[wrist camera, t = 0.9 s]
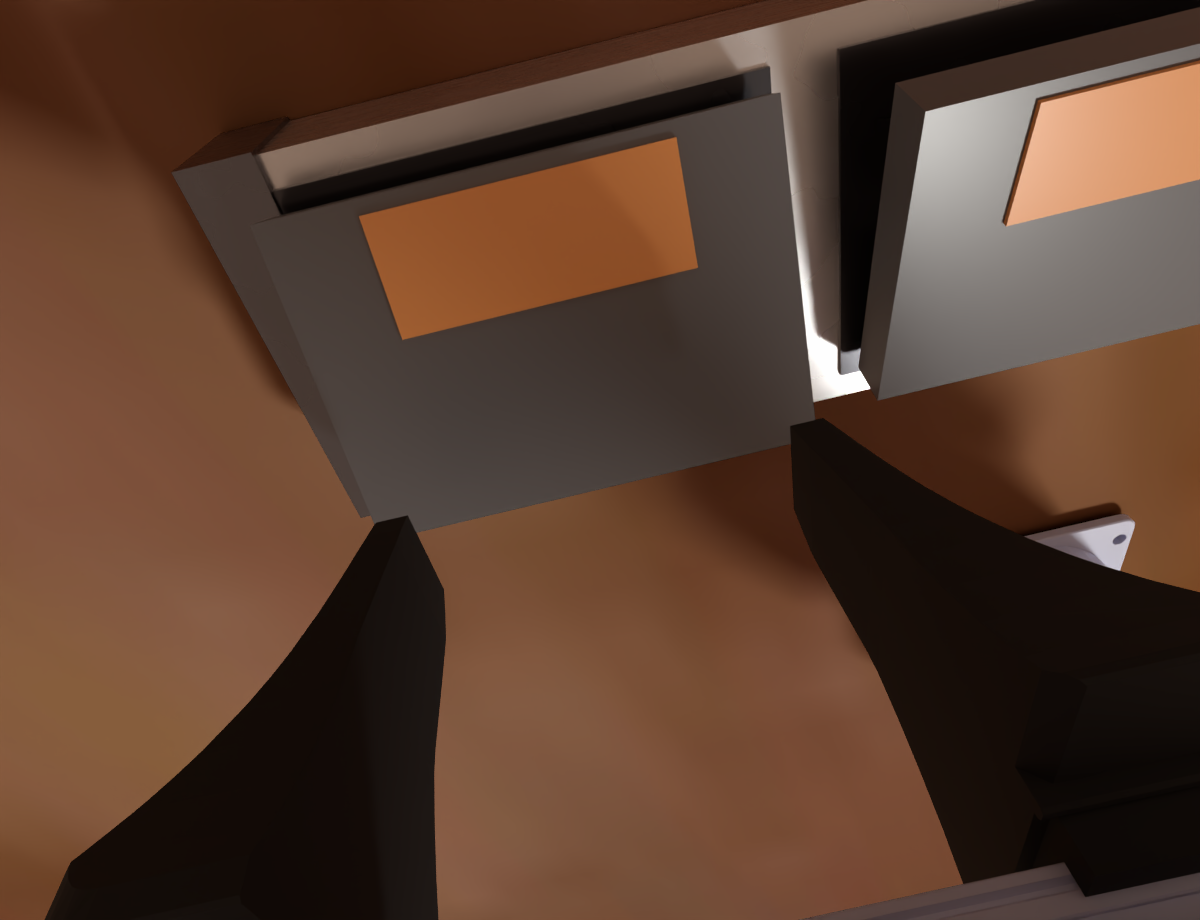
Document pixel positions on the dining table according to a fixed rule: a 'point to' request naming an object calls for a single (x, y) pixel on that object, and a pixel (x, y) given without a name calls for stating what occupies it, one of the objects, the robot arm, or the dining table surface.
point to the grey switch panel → (631, 98)
